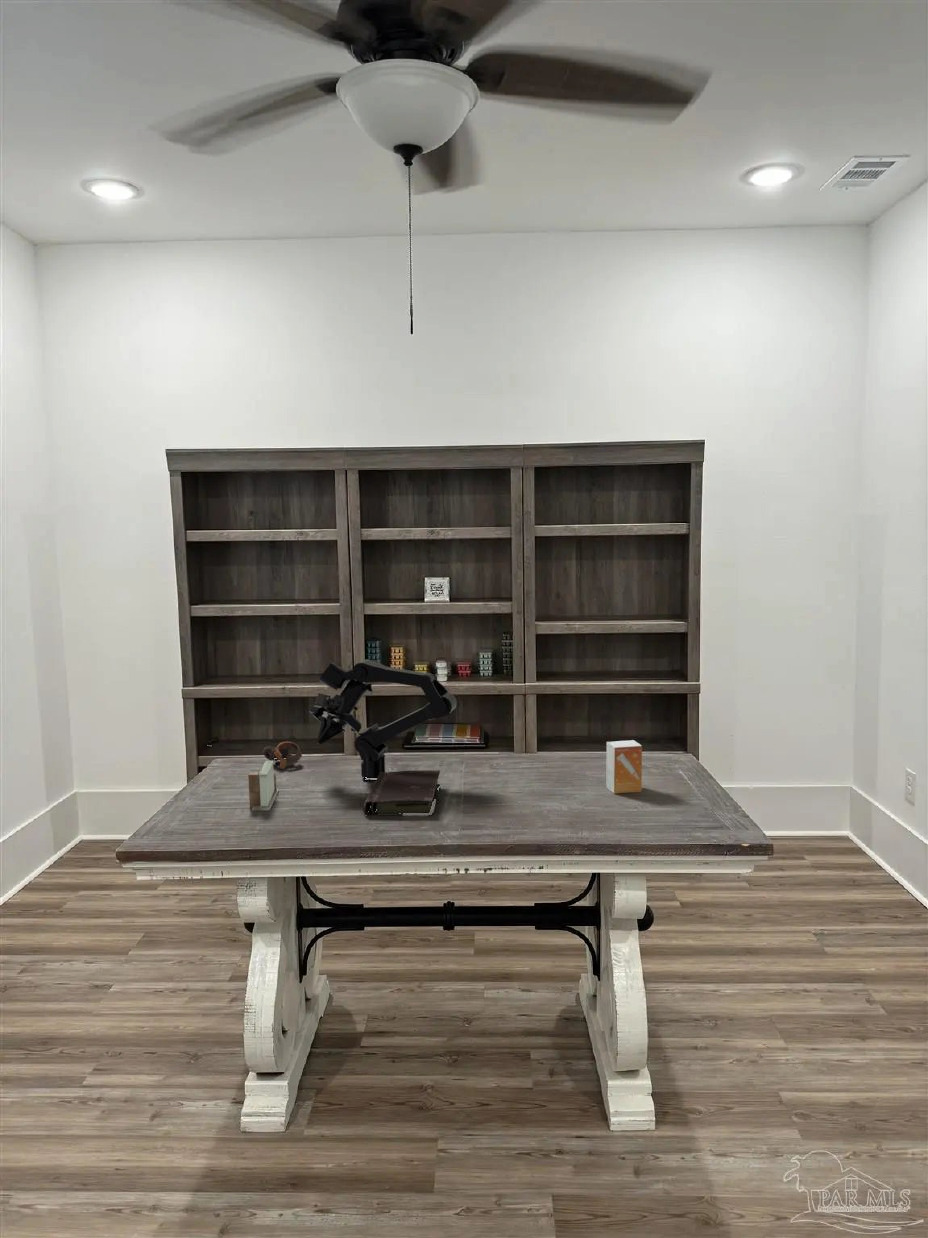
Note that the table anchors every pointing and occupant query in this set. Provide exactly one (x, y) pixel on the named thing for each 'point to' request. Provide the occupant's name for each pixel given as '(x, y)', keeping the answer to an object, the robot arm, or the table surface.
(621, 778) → the small box
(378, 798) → the diary
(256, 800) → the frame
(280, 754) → the brown looped band
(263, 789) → the pale green flat panel
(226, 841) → the table surface
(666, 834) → the table surface
